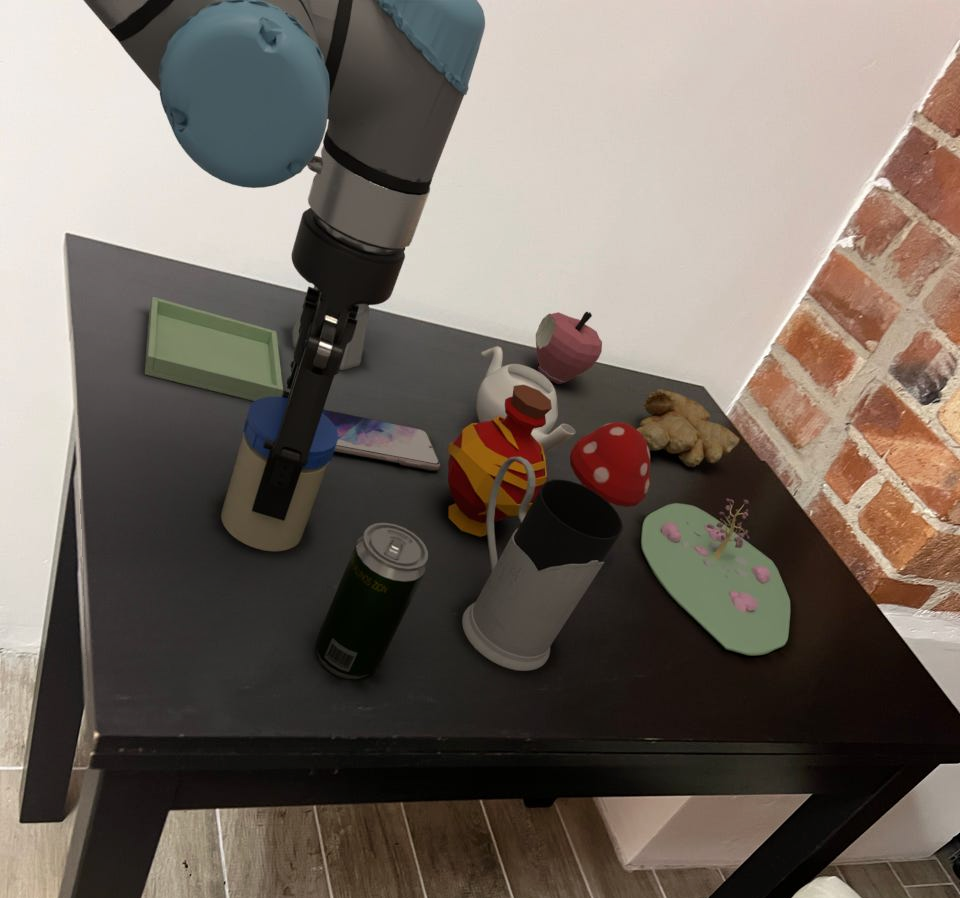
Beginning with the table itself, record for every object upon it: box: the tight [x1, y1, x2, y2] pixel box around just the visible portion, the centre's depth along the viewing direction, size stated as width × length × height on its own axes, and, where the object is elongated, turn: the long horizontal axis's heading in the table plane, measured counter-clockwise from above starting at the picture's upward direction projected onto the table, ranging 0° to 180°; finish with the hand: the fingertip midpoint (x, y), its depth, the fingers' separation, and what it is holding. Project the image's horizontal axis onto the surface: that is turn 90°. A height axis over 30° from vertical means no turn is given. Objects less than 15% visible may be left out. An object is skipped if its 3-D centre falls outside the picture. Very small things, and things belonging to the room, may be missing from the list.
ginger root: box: [636, 388, 741, 468], centre depth 126 cm, size 16×16×8 cm
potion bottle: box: [447, 385, 552, 538], centre depth 89 cm, size 10×10×15 cm
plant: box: [640, 498, 791, 656], centre depth 103 cm, size 25×21×9 cm
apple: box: [535, 311, 603, 385], centre depth 125 cm, size 10×9×10 cm
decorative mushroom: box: [569, 421, 651, 508], centre depth 93 cm, size 10×9×15 cm
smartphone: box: [322, 408, 441, 472], centre depth 96 cm, size 7×1×15 cm
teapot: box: [475, 345, 576, 456], centre depth 105 cm, size 10×20×9 cm, turn 26°
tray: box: [144, 296, 284, 402], centre depth 95 cm, size 13×12×2 cm
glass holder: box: [461, 457, 623, 672], centre depth 80 cm, size 9×14×15 cm, turn 32°
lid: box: [242, 396, 338, 469], centre depth 74 cm, size 7×7×2 cm
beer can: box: [315, 522, 429, 680], centre depth 69 cm, size 5×5×12 cm
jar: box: [220, 432, 330, 552], centre depth 77 cm, size 7×7×10 cm
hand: (274, 485), depth 77 cm, fingers closed on lid, 7 cm apart
